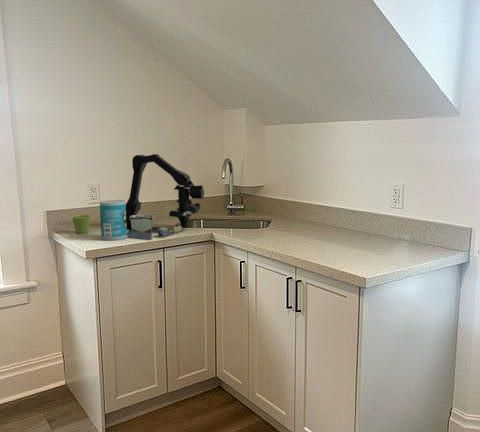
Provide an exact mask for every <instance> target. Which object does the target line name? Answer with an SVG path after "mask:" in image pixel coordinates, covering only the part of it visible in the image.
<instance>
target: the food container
mask: <svg viewBox="0 0 480 432" xmlns="http://www.w3.org/2000/svg"><path fill="white" fill-rule="evenodd" d="M129 220H131V227H132V231H135V232H144V233H151V235H152V236H153V232H152V226H154V225H153V222H154V221H155V217H154V216H153V215H152V214H137V215H132V216H130V219H129Z"/></svg>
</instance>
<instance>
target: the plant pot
mask: <svg viewBox="0 0 480 432" xmlns="http://www.w3.org/2000/svg"><path fill="white" fill-rule="evenodd" d="M71 219H72V221H73V225H74V230H75V234H76V235H84V234H86V235H87V234H88V233H89V232H90V229H89V228H90V219H91V215H89V214H78V215H73V216H71Z"/></svg>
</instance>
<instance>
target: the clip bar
mask: <svg viewBox="0 0 480 432" xmlns="http://www.w3.org/2000/svg"><path fill="white" fill-rule="evenodd" d="M179 231H182V225H180V224H177V225H176V226H174V227H171V232H172V233H176V232H179Z"/></svg>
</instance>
